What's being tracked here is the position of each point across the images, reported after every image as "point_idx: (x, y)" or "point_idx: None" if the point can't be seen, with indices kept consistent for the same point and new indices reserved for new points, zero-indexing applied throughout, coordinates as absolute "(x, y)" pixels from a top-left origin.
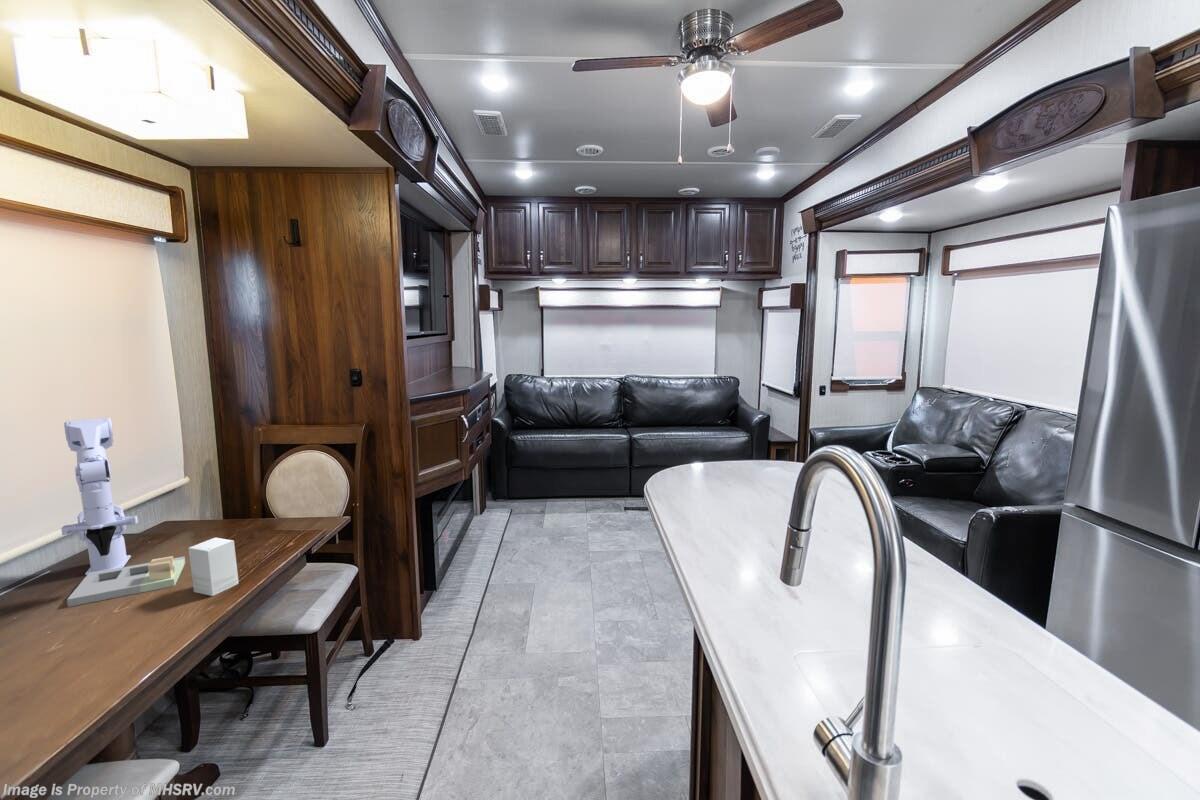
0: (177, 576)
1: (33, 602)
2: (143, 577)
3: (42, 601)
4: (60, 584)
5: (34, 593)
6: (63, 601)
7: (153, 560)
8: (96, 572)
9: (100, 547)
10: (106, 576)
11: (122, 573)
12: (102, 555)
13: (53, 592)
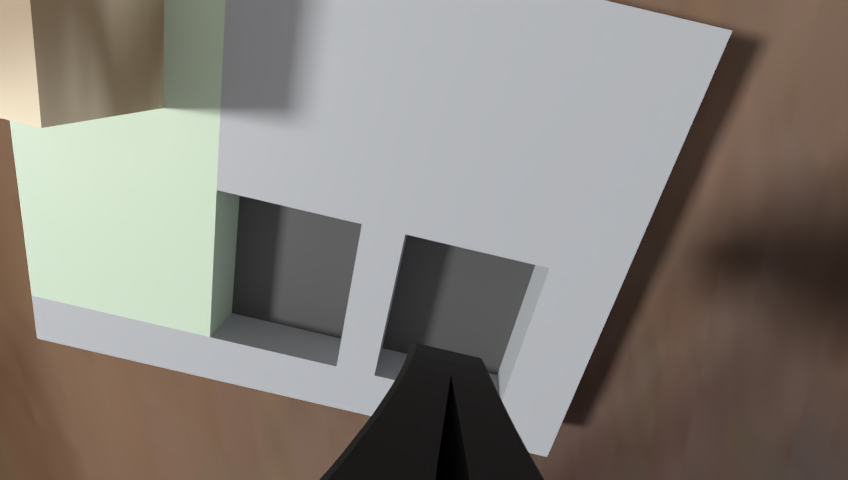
0: None
1: (827, 299)
2: (229, 109)
3: (788, 277)
4: (665, 464)
5: (787, 432)
6: (699, 179)
7: (17, 82)
8: None
9: (475, 444)
10: None
11: (372, 311)
12: (463, 356)
13: (713, 377)
